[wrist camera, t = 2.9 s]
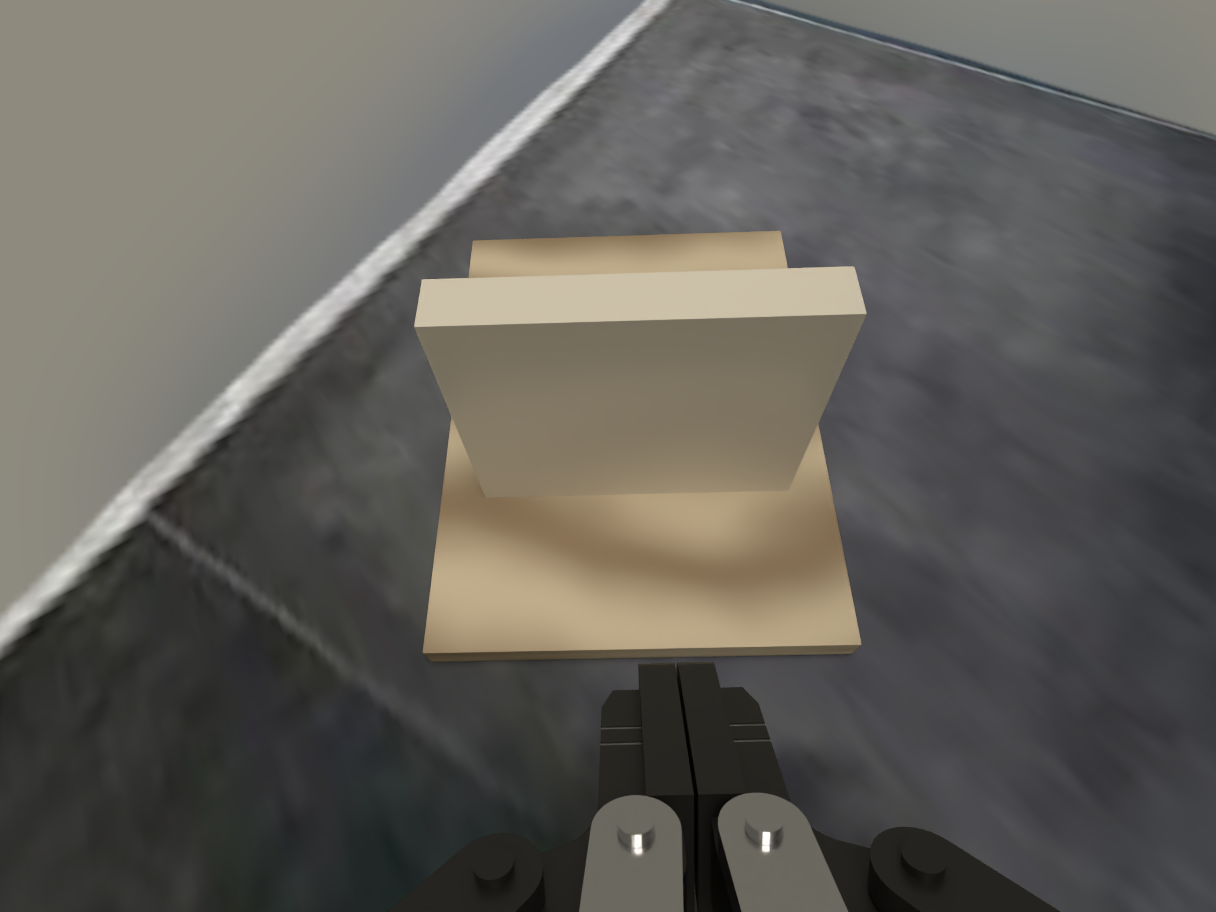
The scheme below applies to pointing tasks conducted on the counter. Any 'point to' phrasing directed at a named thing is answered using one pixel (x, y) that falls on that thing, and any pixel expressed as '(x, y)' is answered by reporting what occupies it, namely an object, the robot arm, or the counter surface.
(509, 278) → the tile
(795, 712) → the counter surface
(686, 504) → the board
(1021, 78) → the counter surface
